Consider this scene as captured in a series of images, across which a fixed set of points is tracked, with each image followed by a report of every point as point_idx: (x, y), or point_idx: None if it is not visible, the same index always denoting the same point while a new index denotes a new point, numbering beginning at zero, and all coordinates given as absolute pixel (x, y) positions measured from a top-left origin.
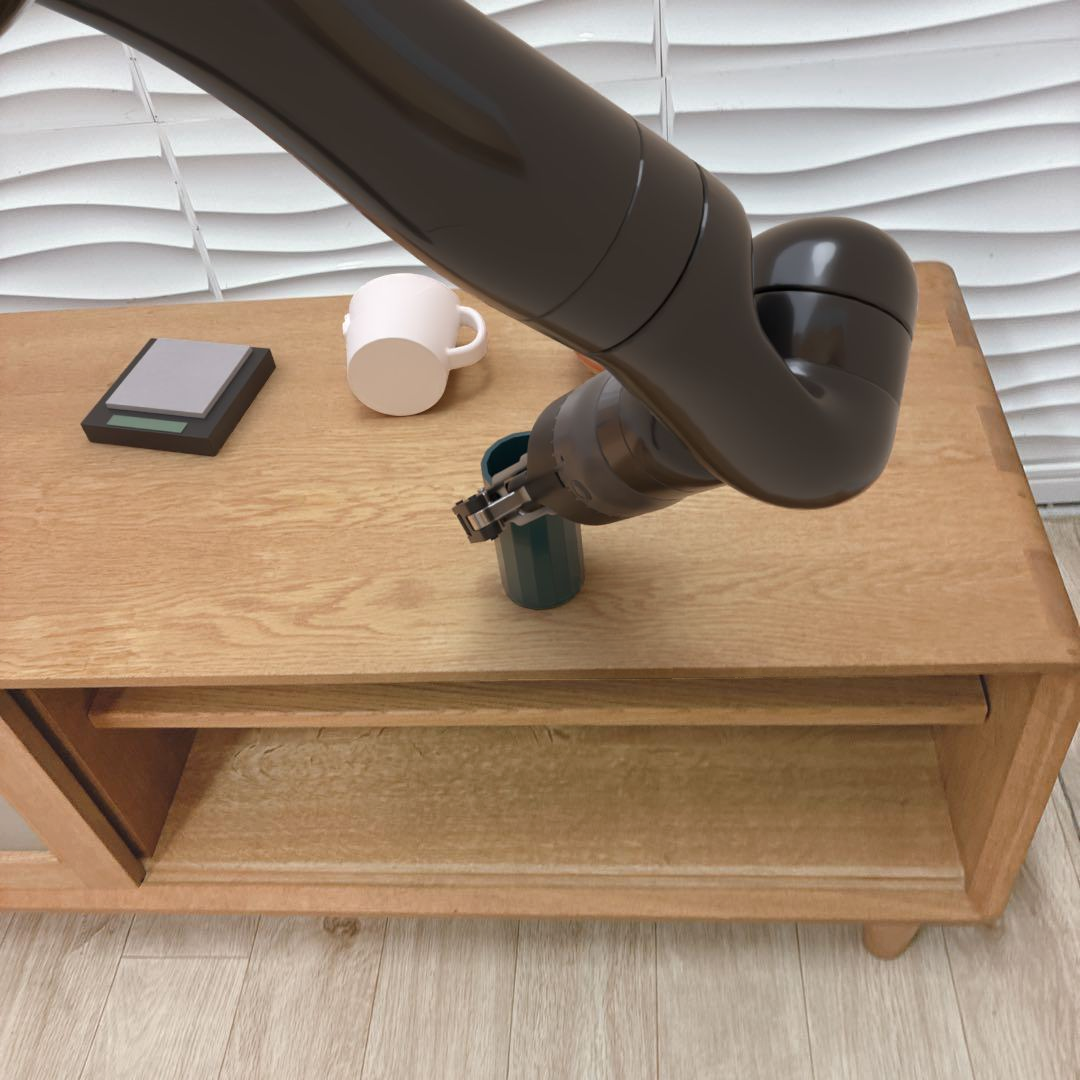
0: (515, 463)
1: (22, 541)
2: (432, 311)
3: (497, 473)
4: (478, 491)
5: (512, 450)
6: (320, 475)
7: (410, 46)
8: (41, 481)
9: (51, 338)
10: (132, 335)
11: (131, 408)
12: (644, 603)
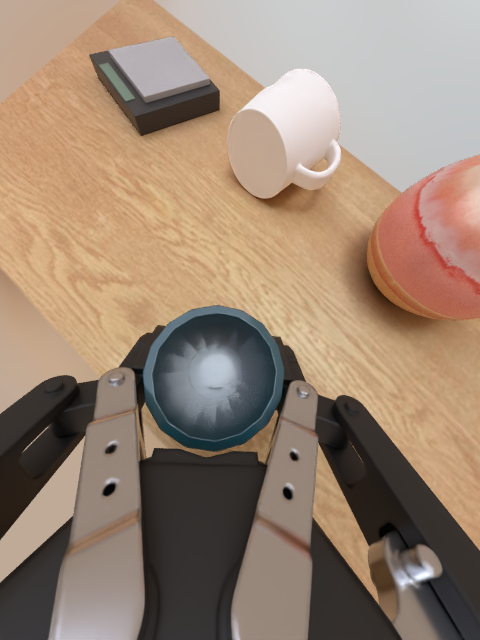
0: (136, 442)
1: (10, 105)
2: (314, 124)
3: (93, 431)
4: (109, 378)
5: (230, 321)
6: (175, 192)
7: None
8: (55, 80)
9: (142, 10)
10: (176, 38)
11: (118, 65)
12: (252, 447)
